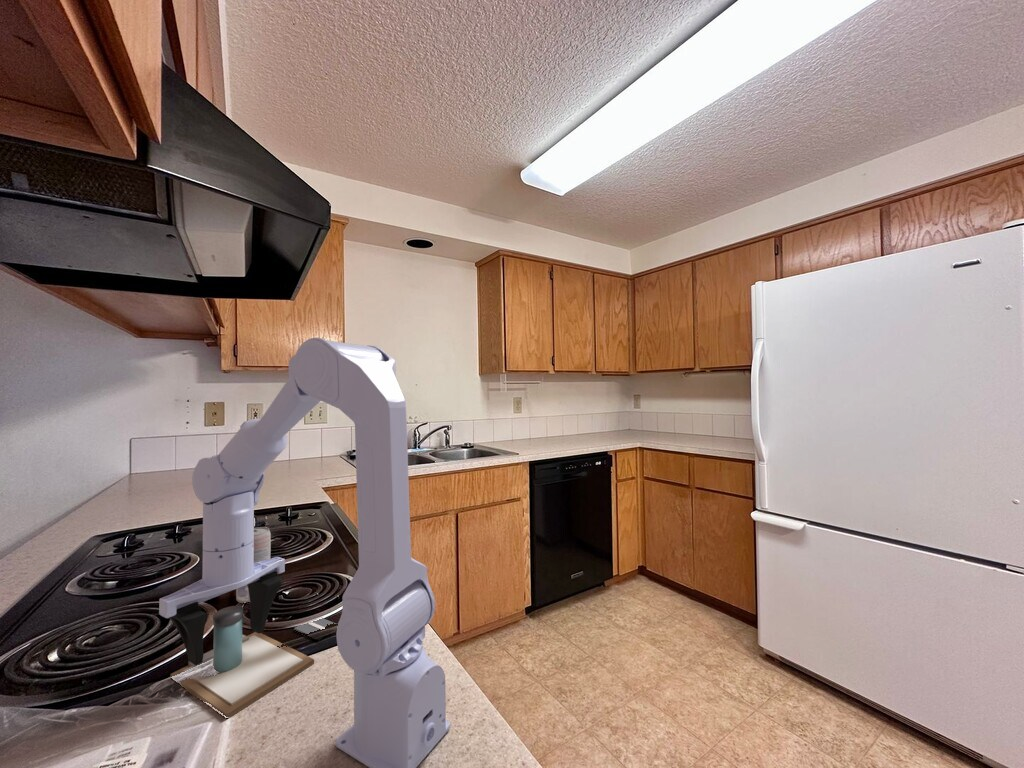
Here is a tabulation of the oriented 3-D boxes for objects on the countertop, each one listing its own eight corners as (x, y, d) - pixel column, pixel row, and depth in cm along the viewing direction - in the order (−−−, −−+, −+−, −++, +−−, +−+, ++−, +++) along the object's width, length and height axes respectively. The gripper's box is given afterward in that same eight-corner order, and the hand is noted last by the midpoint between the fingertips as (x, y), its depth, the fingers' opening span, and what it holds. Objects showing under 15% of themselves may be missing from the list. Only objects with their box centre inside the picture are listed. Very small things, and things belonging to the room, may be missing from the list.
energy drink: (264, 587, 79) (264, 524, 79) (275, 595, 76) (275, 530, 76) (231, 598, 75) (232, 532, 75) (242, 607, 71) (242, 538, 72)
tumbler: (248, 661, 56) (248, 609, 56) (220, 676, 53) (220, 621, 53) (235, 653, 57) (235, 603, 58) (207, 667, 54) (207, 614, 55)
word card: (341, 628, 65) (341, 625, 65) (318, 641, 61) (318, 638, 61) (317, 618, 68) (317, 615, 68) (294, 630, 64) (294, 627, 64)
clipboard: (314, 663, 56) (314, 655, 56) (226, 719, 47) (226, 709, 47) (256, 635, 63) (256, 627, 63) (170, 678, 54) (170, 670, 54)
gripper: (266, 524, 64) (265, 612, 63) (148, 557, 51) (147, 667, 51) (293, 531, 60) (293, 624, 60) (174, 568, 48) (173, 686, 47)
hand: (228, 645), depth 55 cm, fingers open, 7 cm apart
